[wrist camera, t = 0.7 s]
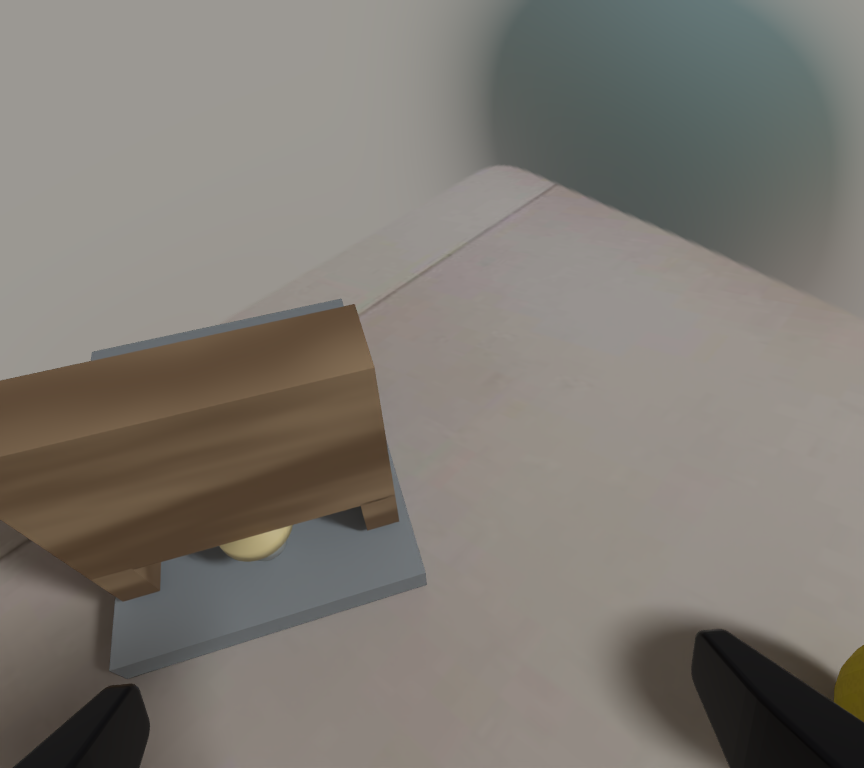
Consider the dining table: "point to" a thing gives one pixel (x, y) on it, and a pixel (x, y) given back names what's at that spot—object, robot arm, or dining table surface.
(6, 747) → the dining table surface
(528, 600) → the dining table surface
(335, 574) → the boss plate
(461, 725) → the dining table surface
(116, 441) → the panel
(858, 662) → the lemon
